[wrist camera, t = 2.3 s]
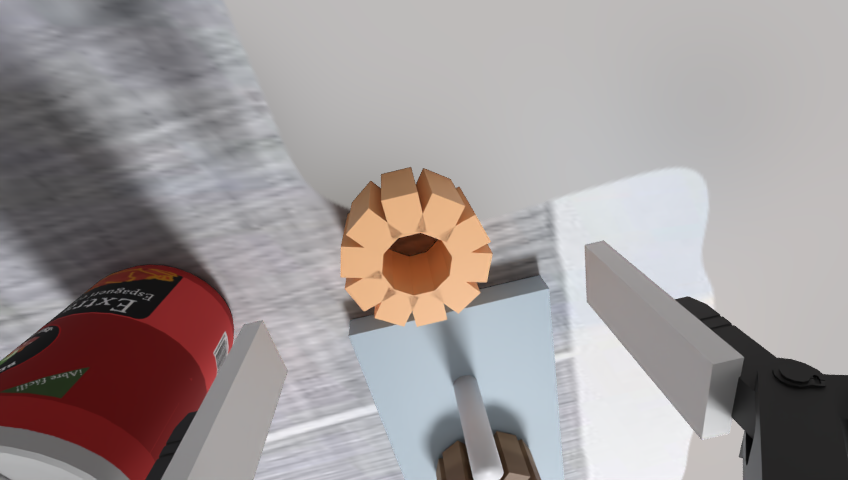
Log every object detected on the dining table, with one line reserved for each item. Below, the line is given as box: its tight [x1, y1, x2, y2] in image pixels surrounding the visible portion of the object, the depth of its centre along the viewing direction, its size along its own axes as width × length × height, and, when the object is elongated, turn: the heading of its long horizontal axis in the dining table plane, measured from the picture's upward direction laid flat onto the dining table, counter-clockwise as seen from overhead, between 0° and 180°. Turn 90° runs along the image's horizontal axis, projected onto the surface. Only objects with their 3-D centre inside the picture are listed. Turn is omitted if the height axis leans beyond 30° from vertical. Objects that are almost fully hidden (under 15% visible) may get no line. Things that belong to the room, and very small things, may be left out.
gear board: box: [349, 275, 564, 480], centre depth 26 cm, size 24×12×8 cm, turn 12°
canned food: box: [0, 265, 234, 480], centre depth 18 cm, size 8×8×11 cm
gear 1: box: [341, 167, 493, 327], centre depth 20 cm, size 7×7×4 cm
